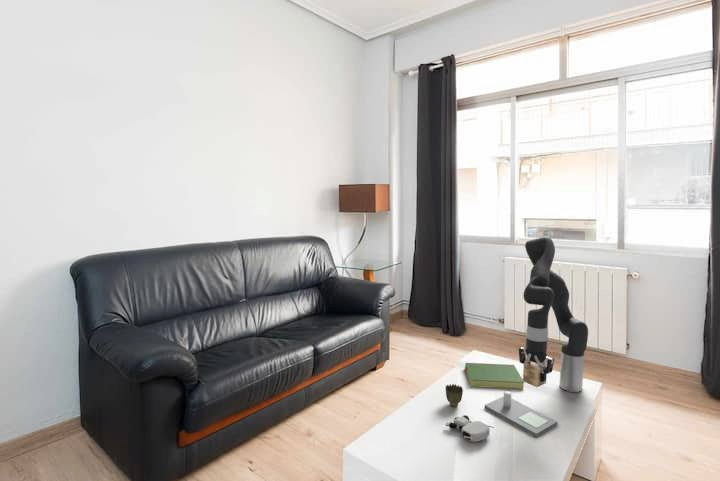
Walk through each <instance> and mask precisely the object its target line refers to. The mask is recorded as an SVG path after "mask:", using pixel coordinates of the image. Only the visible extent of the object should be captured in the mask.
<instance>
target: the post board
mask: <svg viewBox="0 0 720 481" xmlns="http://www.w3.org/2000/svg"><path fill="white" fill-rule="evenodd" d="M484 409H485V410H487V411H488V412H490V413H492V414H494V415H495V416H498V417H499V418H501V419H502V420H505V421H506V422H508V423H509V424H512V425H513V426H515V427H517V428H519V429H520V430H522V431H524V432H526V433H528V434H529V435H531V436H533V437H535V438H538V437H539V436H541V435H543V434H545V433H547V432H548V431H550V430H552V429H553V428H554V427H556V426H558V424H559V423H558V421H557V420H556V419H553V418H552V417H549V416H548V415H546V414H543V413H541V412H539V411H538V410H535V409H533V408H532V407H529V406H527V405H525V404H524V403H522V402H519V401H517V400H515V399H514V398H512V392H511V391H503V396H502V397H499V398H496V399H495V400H493V401H490V402H489V403H486V404H484Z"/></svg>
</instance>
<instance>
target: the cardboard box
mask: <svg viewBox="0 0 720 481" xmlns="http://www.w3.org/2000/svg"><path fill="white" fill-rule="evenodd" d="M522 373H523V374H522V379H523V381H524V383H527V384H529V385H530V386H532V387H535V388H538V387H541V386H543V385H545V384H547V380H546V381H544V382H540V375H541V370H540V368H539V367H538V364H536V363H535V362H531V363H529V364H526V365H524V364H523V372H522ZM547 375H548V374H547ZM547 375H546V377H547Z"/></svg>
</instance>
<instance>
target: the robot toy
mask: <svg viewBox="0 0 720 481" xmlns="http://www.w3.org/2000/svg"><path fill="white" fill-rule="evenodd" d="M445 427H448V428H449V429H451V430H452V429H453V430H455V429H456V430H458V431H460V432H461V435H462V437H463V438H464V439H466V440H467V441H470V442H474V443H475V442H479V441H482V440H485V439H486V438H488V436H490V428H491V429H494V428H495V426H494V425H493V426H491V425H488V424H486V423H484V422H483V421H481V420H480V421H479V420H478V421H477V420H474V421H471V420H470V417H469V416H468V415H466V414H464V415H462V416H456V417H453V422H446V423H445Z"/></svg>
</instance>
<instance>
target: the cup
mask: <svg viewBox="0 0 720 481" xmlns="http://www.w3.org/2000/svg"><path fill="white" fill-rule="evenodd" d="M463 392H464V389H463V387H462V385H460V386H459V384H457V385H456V383H455V384H454V383H452V384H450V383H449V384H447V385H445V397H446V400H447V401H448V403H449V405H450V406H451V407H453V408H457V407H458V405H459V403H460V402H462V399H463V394H464V393H463Z"/></svg>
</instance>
